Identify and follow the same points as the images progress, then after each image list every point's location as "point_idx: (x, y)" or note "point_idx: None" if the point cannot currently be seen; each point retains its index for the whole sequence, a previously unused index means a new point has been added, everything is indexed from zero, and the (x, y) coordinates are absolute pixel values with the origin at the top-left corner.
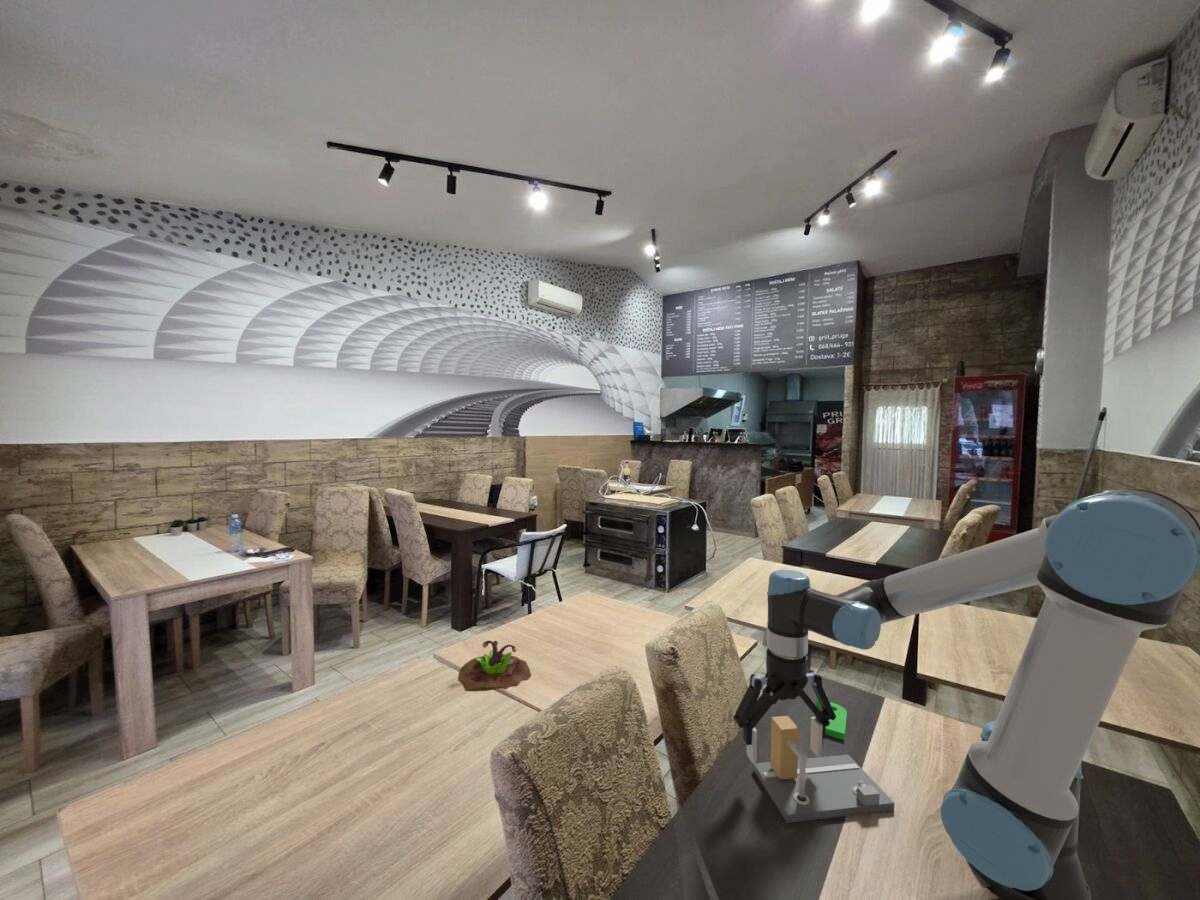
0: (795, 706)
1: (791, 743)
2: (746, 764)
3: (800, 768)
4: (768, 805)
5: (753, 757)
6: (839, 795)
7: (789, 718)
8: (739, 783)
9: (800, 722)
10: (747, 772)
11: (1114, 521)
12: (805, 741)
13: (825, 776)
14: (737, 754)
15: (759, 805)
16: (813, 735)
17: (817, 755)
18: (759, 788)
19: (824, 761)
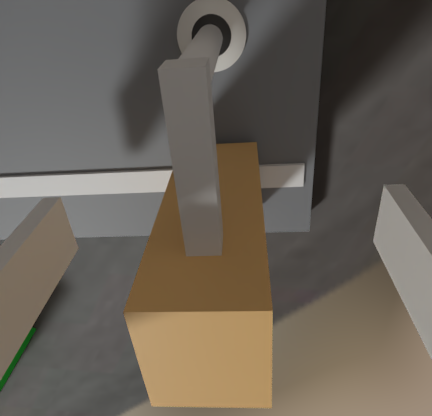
0: (62, 404)
1: (215, 217)
2: (314, 241)
3: (213, 60)
4: (346, 49)
5: (413, 201)
6: (34, 47)
7: (150, 389)
8: (392, 166)
9: (67, 361)
10: (331, 210)
11: None
12: (77, 305)
13: (60, 152)
14: (320, 280)
15: (384, 52)
16: (36, 284)
17: (58, 204)
18: (331, 138)
19: None
